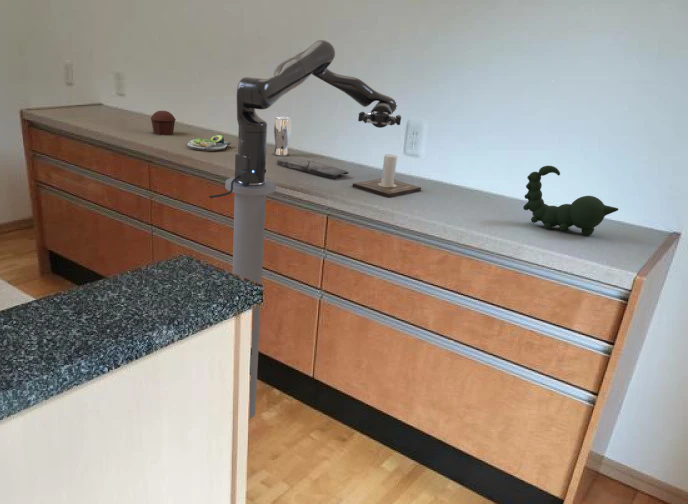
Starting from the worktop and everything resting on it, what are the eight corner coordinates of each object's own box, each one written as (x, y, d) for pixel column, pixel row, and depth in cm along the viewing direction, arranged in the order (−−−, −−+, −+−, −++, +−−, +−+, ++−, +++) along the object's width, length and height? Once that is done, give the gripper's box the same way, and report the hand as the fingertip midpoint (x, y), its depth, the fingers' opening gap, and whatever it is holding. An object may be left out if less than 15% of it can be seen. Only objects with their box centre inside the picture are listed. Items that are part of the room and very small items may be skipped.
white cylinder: (388, 186, 208) (392, 157, 203) (378, 184, 210) (381, 155, 206) (396, 185, 210) (400, 156, 206) (386, 182, 213) (390, 154, 209)
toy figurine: (518, 230, 180) (611, 242, 168) (526, 166, 173) (624, 173, 161) (524, 223, 188) (614, 234, 175) (532, 161, 181) (627, 168, 168)
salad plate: (226, 154, 247) (226, 142, 245) (182, 150, 248) (182, 139, 246) (232, 145, 265) (233, 134, 263) (192, 142, 265) (192, 131, 264)
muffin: (146, 132, 282) (145, 109, 278) (166, 130, 289) (166, 108, 285) (159, 136, 274) (159, 113, 270) (180, 134, 281) (180, 112, 277)
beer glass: (291, 156, 252) (293, 119, 246) (275, 156, 250) (277, 118, 244) (285, 152, 258) (288, 116, 252) (270, 152, 256) (272, 116, 249)
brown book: (388, 197, 200) (388, 193, 199) (352, 186, 210) (352, 182, 210) (420, 190, 211) (421, 186, 211) (385, 180, 222) (385, 177, 221)
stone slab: (334, 174, 216) (275, 155, 234) (332, 182, 218) (275, 163, 236) (352, 171, 223) (294, 153, 241) (350, 179, 225) (293, 161, 243)
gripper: (362, 102, 214) (358, 107, 199) (402, 106, 212) (402, 111, 197) (360, 124, 217) (356, 130, 202) (399, 128, 215) (398, 134, 200)
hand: (378, 120), depth 200 cm, fingers open, 8 cm apart
